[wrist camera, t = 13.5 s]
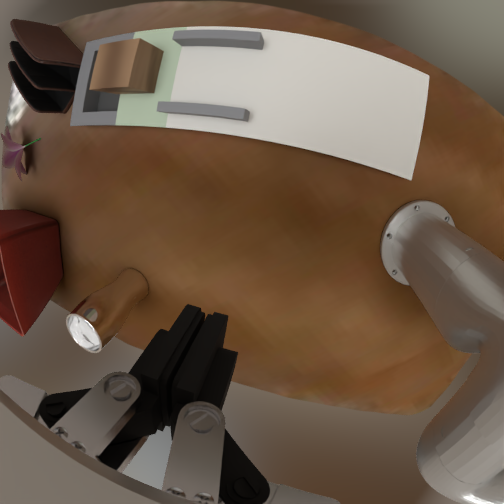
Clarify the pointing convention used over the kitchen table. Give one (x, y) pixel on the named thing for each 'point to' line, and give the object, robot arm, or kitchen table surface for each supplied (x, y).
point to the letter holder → (44, 66)
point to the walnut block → (126, 67)
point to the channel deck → (271, 93)
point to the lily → (13, 154)
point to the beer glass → (106, 310)
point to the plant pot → (27, 266)
